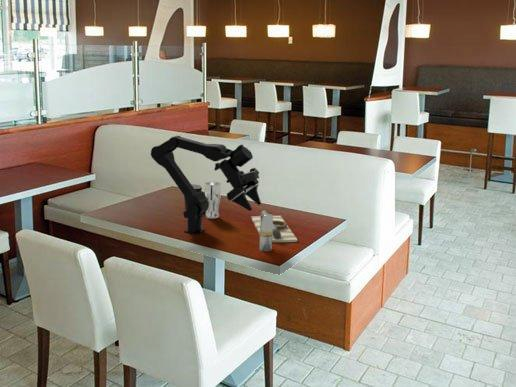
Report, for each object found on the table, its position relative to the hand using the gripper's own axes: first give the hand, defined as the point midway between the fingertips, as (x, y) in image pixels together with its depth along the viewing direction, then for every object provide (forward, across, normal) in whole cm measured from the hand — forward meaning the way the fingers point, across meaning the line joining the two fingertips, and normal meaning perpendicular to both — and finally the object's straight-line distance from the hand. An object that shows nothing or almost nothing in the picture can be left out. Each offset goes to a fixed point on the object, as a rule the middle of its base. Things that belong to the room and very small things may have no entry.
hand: (255, 207), depth 220 cm
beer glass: (-8, +21, +30) cm, 38 cm away
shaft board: (+11, +17, +8) cm, 21 cm away
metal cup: (+15, -7, +3) cm, 17 cm away
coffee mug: (-17, +28, +42) cm, 53 cm away
